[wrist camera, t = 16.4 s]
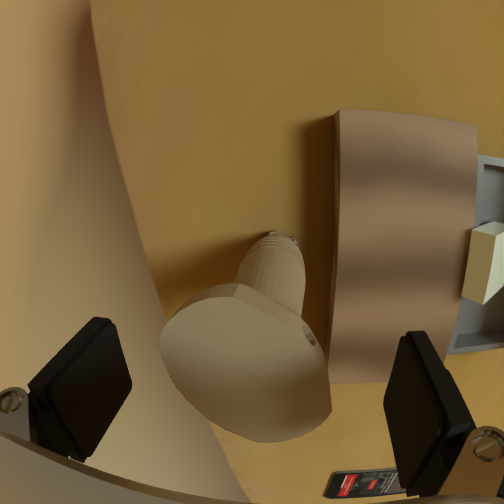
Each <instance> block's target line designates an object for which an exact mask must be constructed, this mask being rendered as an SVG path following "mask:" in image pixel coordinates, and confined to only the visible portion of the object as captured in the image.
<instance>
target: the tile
mask: <svg viewBox="0 0 504 504" xmlns="http://www.w3.org/2000/svg"><path fill="white" fill-rule="evenodd" d="M503 285H504V224H503V223H499V222H495V221H492V222H490V223H487V224H485V225H482V226H480V227H477V228H474V229H472V232H471V240H470V248H469V255H468V262H467V268H466V274H465V279H464V285H463V290H462V295H461V296H462V297H465V298H467V299H470V300H472V301H475V302H477V303H480V304H482V305H483V304H485V303H486V302H487V301H488V300H489V299H490V298H491V297H492V296H493V295H494V294H495V293H496V292H497V291H498V290H500V289H501V288H502V287H503Z"/></svg>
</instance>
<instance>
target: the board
mask: <svg viewBox="0 0 504 504" xmlns="http://www.w3.org/2000/svg"><path fill="white" fill-rule="evenodd" d="M334 141H335V192H334V230H333V254H332V272H331V287H330V301H329V314H328V325H327V336H326V346H325V359H326V363H327V369H328V376H329V384H348V383H375V382H389V379H390V375H391V371H392V368H393V364H394V360H395V356H396V352H397V348H398V344H399V340H400V337H401V336H405V334H406V332H408V331H421V330H423V331H425V332H426V333H427V335H428V337H429V339H430V341H431V342H432V344H433V346H434V348H435V350H436V352H437V353H438V355H439V357H440V359H441V361H442V363H444V360H445V357H446V353H447V350H448V347H449V343H450V340H451V336H452V333H453V329H454V325H455V322H456V318H457V314H458V310H459V305H460V301H461V295H462V290H463V285H464V279H465V274H466V268H467V262H468V255H469V248H470V240H471V232H472V229H473V225H474V215H475V205H476V191H477V172H478V125H473V124H468V123H462V122H457V121H451V120H445V119H438V118H432V117H424V116H417V115H409V114H400V113H390V112H379V111H366V110H351V109H339V110H338V111H337V112H336V113H335V114H334Z"/></svg>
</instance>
